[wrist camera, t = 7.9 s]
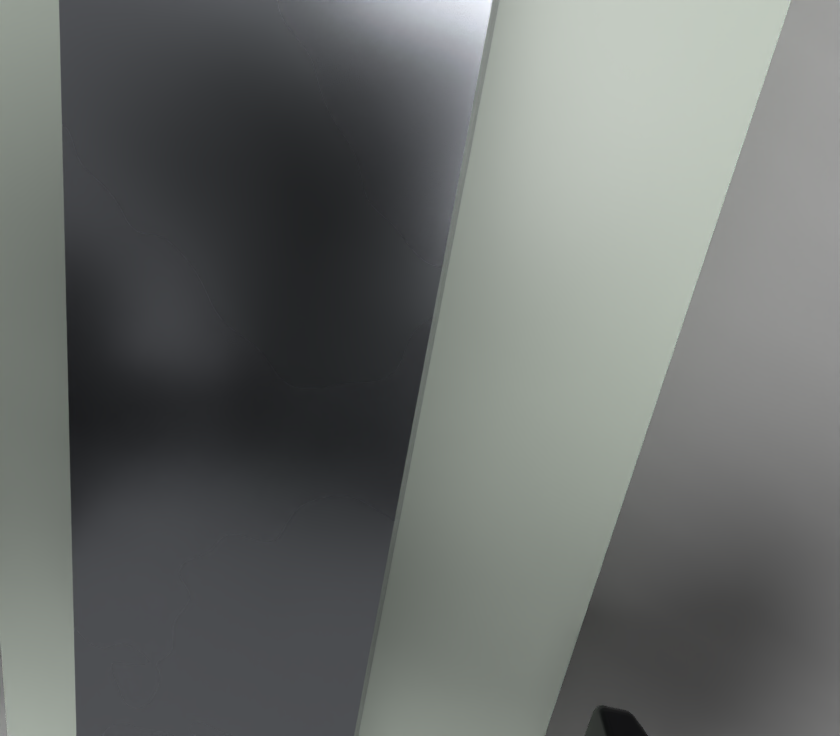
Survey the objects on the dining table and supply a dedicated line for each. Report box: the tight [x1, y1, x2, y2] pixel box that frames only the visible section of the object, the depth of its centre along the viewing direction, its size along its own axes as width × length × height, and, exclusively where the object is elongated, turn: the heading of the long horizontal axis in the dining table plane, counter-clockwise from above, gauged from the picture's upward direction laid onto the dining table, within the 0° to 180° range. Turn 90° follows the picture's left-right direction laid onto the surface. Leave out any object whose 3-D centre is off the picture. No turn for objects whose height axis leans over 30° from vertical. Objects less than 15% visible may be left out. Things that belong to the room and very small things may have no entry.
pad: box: [0, 0, 791, 736], centre depth 10 cm, size 23×9×1 cm, turn 170°
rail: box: [59, 0, 500, 736], centre depth 9 cm, size 22×3×3 cm, turn 170°
